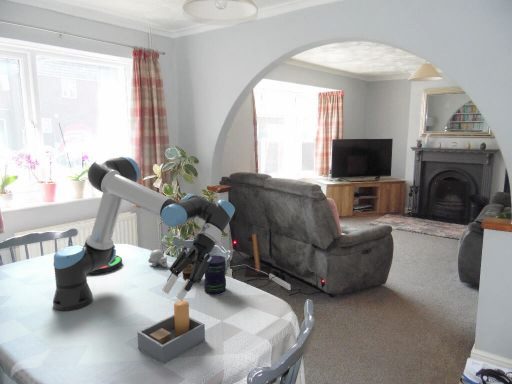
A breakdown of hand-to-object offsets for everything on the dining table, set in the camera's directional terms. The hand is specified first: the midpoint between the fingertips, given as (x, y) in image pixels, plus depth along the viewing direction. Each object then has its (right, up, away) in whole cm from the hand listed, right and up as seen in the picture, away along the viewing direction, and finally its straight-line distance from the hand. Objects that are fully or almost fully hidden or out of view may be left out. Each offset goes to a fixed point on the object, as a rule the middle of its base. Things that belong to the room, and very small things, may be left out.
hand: (171, 295), depth 126 cm
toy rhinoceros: (-24, -5, +75) cm, 79 cm away
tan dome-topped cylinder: (+3, -16, +5) cm, 17 cm away
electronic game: (-55, -6, +74) cm, 93 cm away
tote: (0, -17, +2) cm, 17 cm away
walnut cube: (-3, -17, -2) cm, 17 cm away
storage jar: (+10, -10, +45) cm, 47 cm away
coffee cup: (-5, -8, +59) cm, 60 cm away
